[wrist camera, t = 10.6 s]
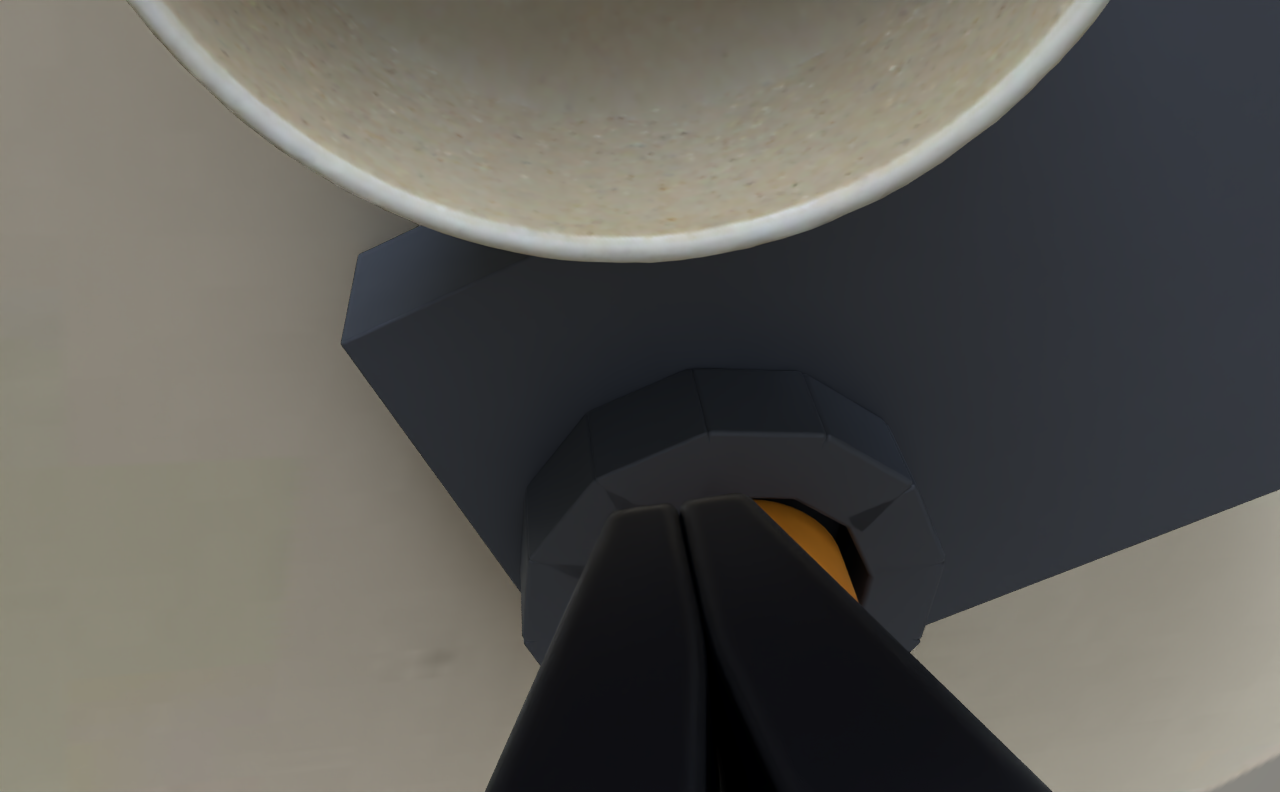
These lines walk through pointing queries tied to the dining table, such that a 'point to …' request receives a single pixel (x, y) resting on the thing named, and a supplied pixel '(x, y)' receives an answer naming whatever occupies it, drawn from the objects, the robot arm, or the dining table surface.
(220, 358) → the dining table surface
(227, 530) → the dining table surface
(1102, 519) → the console
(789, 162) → the flower pot
